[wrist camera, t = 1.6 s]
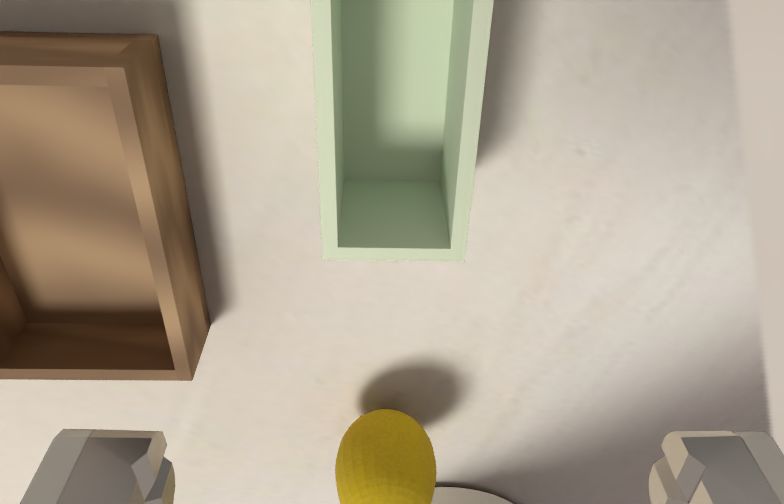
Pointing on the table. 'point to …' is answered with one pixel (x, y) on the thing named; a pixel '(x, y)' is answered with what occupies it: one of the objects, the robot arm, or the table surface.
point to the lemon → (385, 461)
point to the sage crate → (398, 125)
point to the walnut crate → (93, 214)
